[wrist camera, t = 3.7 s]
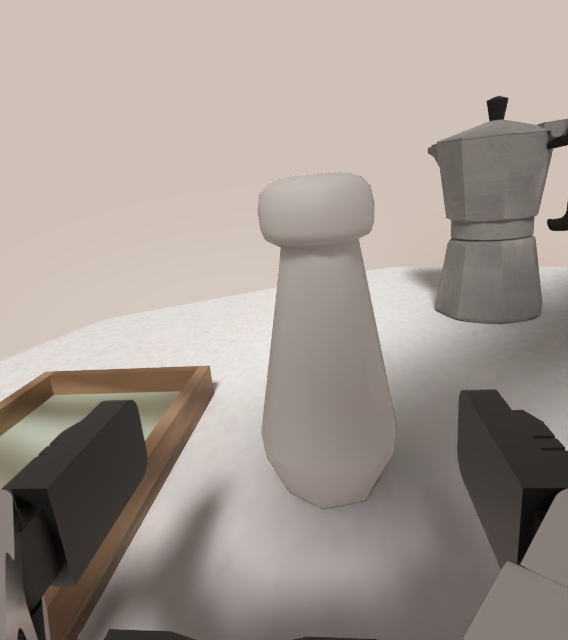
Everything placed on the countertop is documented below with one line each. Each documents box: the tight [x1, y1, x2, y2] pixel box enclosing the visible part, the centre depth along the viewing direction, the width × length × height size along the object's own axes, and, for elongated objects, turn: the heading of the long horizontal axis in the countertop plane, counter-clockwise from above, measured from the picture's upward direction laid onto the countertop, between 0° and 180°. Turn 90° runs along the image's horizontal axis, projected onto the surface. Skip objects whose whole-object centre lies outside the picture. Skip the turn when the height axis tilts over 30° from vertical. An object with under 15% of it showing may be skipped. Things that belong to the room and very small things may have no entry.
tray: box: [0, 366, 214, 640], centre depth 21 cm, size 18×11×2 cm, turn 174°
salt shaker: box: [258, 173, 397, 509], centre depth 19 cm, size 6×6×13 cm
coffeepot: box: [428, 96, 568, 323], centre depth 39 cm, size 15×9×18 cm, turn 35°
